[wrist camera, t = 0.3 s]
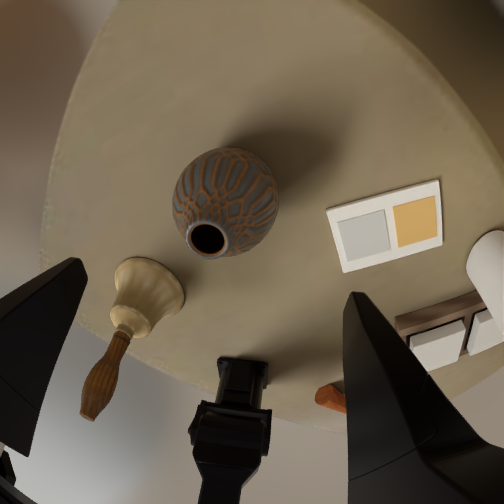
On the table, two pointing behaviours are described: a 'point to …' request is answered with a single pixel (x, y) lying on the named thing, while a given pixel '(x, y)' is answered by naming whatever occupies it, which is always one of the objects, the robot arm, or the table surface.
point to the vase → (225, 202)
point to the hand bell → (130, 323)
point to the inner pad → (438, 345)
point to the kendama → (331, 398)
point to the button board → (441, 316)
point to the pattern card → (387, 225)
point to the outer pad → (483, 333)
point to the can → (489, 273)
